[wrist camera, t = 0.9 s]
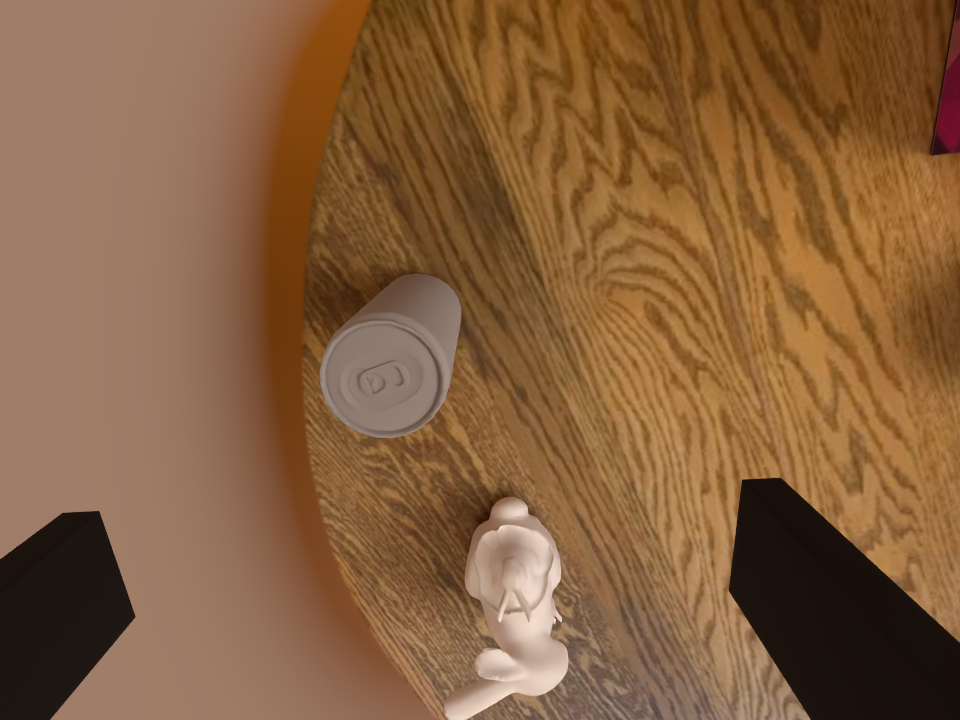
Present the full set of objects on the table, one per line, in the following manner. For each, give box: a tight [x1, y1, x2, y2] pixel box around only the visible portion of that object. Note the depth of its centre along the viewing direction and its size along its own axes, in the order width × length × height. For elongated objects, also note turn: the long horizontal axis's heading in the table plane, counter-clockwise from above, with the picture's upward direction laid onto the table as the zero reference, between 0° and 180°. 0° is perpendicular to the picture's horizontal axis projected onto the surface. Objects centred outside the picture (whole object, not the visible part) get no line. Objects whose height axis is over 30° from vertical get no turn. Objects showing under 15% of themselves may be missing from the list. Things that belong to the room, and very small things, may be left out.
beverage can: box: [319, 273, 461, 438], centre depth 23 cm, size 5×5×12 cm
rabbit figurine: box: [444, 497, 568, 720], centre depth 30 cm, size 12×8×10 cm, turn 7°
